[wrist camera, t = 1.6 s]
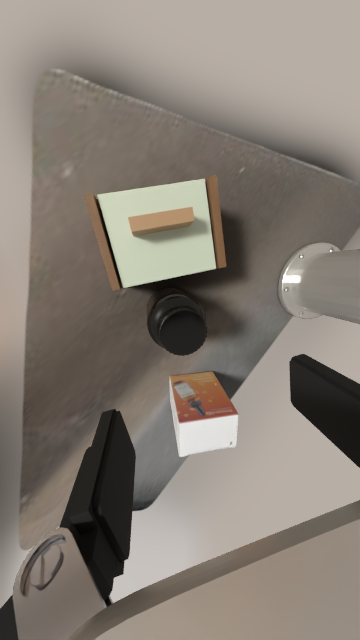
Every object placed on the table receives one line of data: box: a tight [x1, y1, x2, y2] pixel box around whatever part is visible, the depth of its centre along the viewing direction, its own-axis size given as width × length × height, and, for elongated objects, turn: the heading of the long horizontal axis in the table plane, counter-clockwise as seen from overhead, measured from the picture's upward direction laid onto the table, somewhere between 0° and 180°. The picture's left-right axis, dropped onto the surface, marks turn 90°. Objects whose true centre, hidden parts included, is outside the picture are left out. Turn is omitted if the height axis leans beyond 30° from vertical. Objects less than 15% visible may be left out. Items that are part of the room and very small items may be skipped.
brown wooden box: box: [84, 176, 226, 291], centre depth 23 cm, size 13×9×7 cm
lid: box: [97, 179, 216, 288], centre depth 19 cm, size 11×9×3 cm
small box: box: [170, 371, 238, 457], centre depth 28 cm, size 8×6×10 cm
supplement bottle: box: [147, 288, 207, 356], centre depth 23 cm, size 7×7×12 cm
